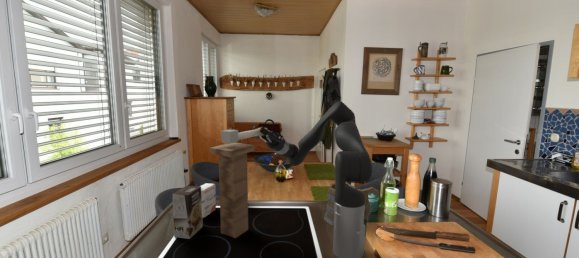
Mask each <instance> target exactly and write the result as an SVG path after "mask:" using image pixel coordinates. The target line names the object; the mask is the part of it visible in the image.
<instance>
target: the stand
mask: <svg viewBox="0 0 579 258" xmlns="http://www.w3.org/2000/svg"><path fill="white" fill-rule="evenodd" d="M255 149H256V148H255V144H248V143H241V142H235V143H224V144H220V145H217V146H213V147H209V154H210V155H211V154H212V155H215V156H216V155H217V156H218V177H219V178H218V179H219V181H218V183H219V211H220V212H219V213H220V215H219V216H220V219H219V220H220V234H222V235H225V236H228V237H231V238H233V239H237V238H239V237H240V236H241V235H242V234H244V233H246V232H247V231H249V201H248V200H249V195H248V194H249V193H248V192H249V191H248V189H249V187H248V186H249V185H248V153H251V152H254V151H255Z"/></svg>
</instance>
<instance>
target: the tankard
mask: <svg viewBox="0 0 579 258" xmlns="http://www.w3.org/2000/svg"><path fill="white" fill-rule="evenodd" d="M346 184H347V185H349V186H350V187H352V188H355V189H357V190H359V191H361V192H362V193H363V194H364V195H365V208H364V219H368V217H369V216H370V215H371V214H372V213H371V212H372V211H371V210H372V205H371V203H370V199H369V194H372V193H373V194H374V195H377V194H378V193H379V190H378V189H376V188H375V187H373V186H370V187H368V188H363V189H360V188H359V189H358V188H356V186H354V185H352V184H350V183H348V182H346ZM326 200H328V201H327V204H326V206H325V208H326V209H325V210H326V212H325V214H324V217H323V218H324V221H325V222H326V223H328V224H329V225H330V226H331V227H334V205H335V183H330V184H329V186H328V191H327V192H326Z"/></svg>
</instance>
